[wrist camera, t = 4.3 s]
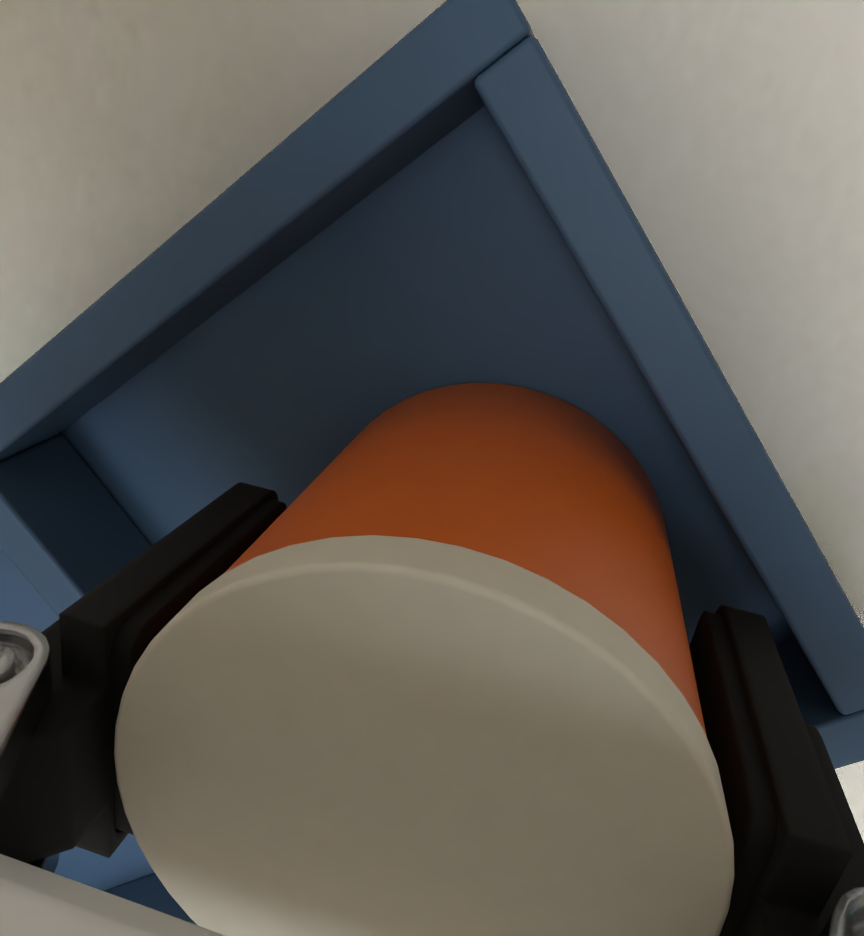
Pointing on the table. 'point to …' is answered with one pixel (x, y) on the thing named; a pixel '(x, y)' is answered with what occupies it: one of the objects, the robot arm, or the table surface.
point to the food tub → (438, 698)
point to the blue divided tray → (402, 356)
